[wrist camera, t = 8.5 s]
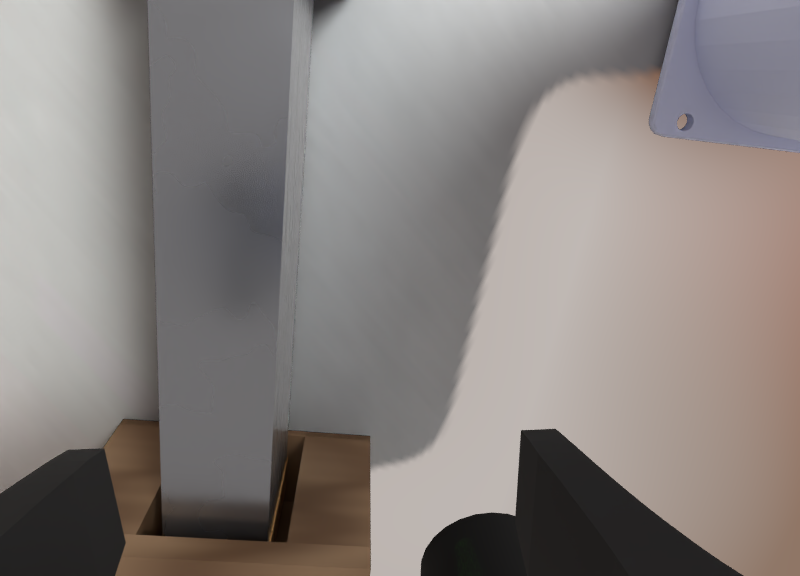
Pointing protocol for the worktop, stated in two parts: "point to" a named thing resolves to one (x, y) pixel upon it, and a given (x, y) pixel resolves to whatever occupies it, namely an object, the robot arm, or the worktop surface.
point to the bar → (226, 254)
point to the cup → (476, 548)
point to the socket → (239, 559)
